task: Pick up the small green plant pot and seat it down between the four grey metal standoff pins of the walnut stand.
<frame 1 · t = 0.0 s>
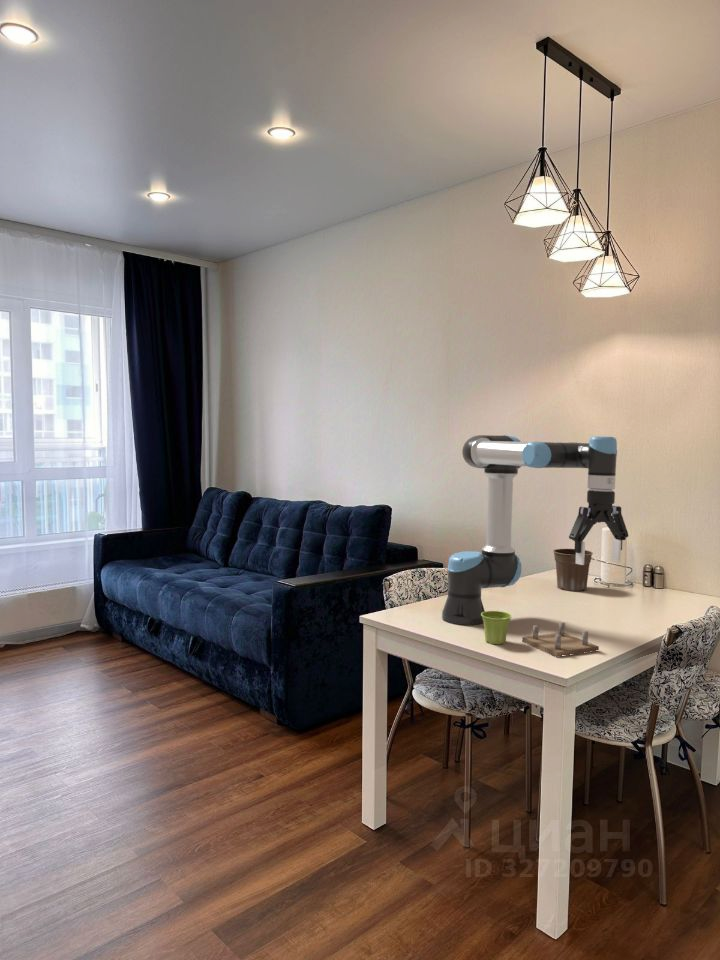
hand: (598, 563, 195), 28 cm above the table, tool pointing down, fingers open, 13 cm apart
stand: (559, 646, 207), on the table
plant pot: (571, 588, 290), on the table
plant pot 2: (495, 642, 211), on the table
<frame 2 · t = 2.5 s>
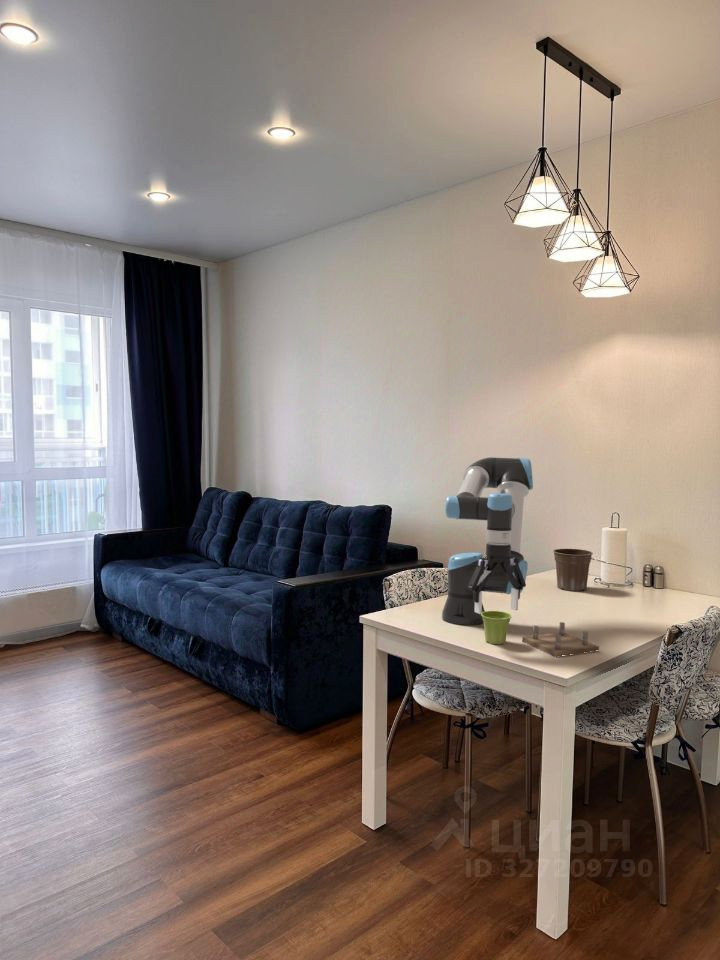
hand: (496, 611, 210), 10 cm above the table, tool pointing down, fingers open, 13 cm apart
nothing on the table moved.
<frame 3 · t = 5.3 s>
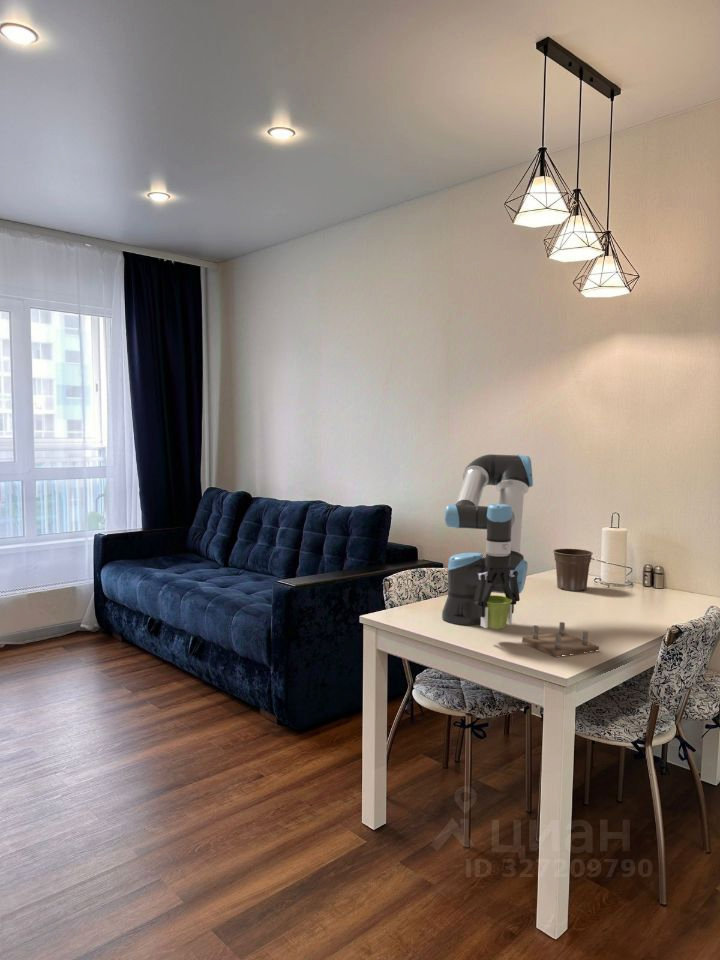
hand: (496, 625, 211), 5 cm above the table, tool pointing down, fingers closed on plant pot 2, 8 cm apart
plant pot 2: (495, 626, 211), point 5 cm above the table, touching gripper
everything else where it was.
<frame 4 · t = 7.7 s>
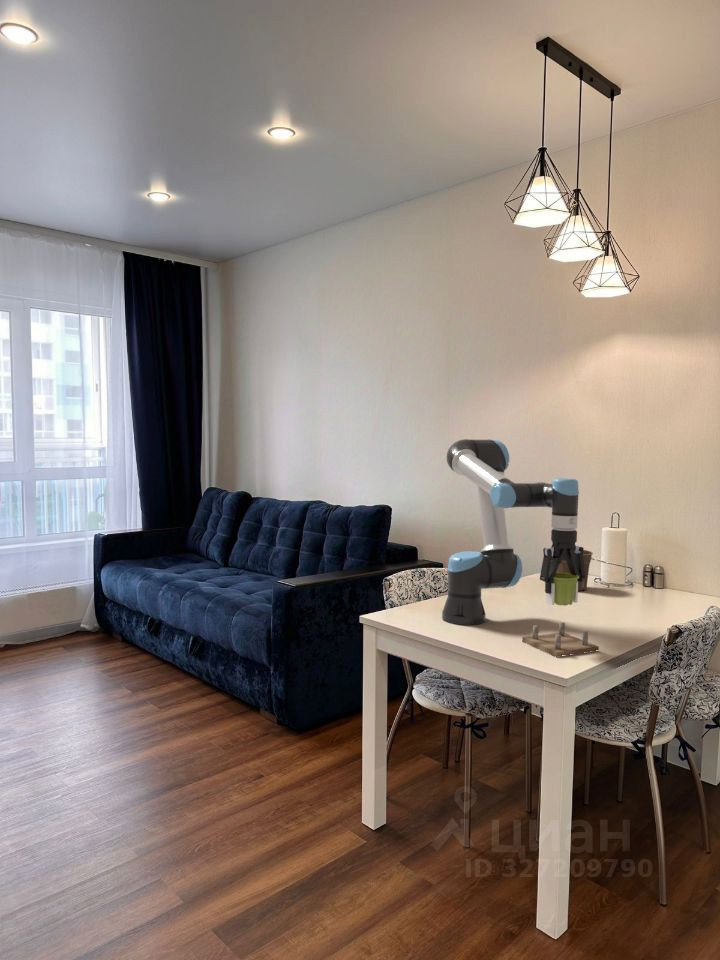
hand: (561, 602, 206), 14 cm above the table, tool pointing down, fingers closed on plant pot 2, 8 cm apart
plant pot 2: (561, 604, 206), point 13 cm above the table, touching gripper
everything else where it was.
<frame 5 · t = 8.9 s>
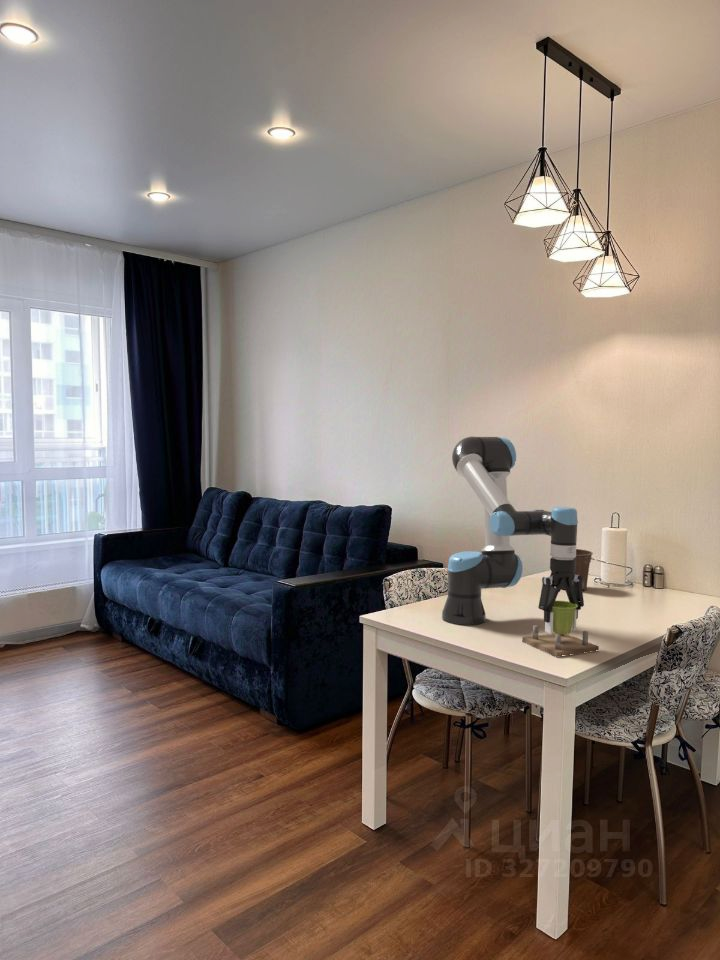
hand: (560, 631, 207), 5 cm above the table, tool pointing down, fingers closed on plant pot 2, 8 cm apart
plant pot 2: (560, 632, 207), point 4 cm above the table, touching gripper
everything else where it was.
when the fingers open (3 cm above the table, at t = 10.1 s): plant pot 2 stays where it is, resting on stand.
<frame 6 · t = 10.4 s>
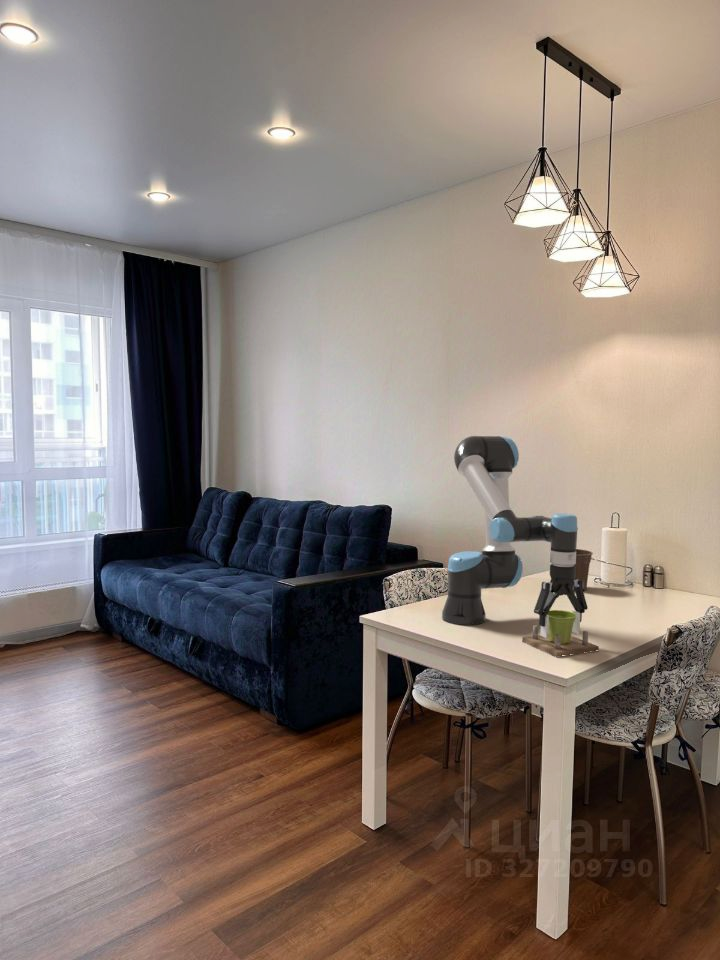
hand: (560, 634, 207), 4 cm above the table, tool pointing down, fingers open, 11 cm apart
plant pot 2: (559, 642, 207), point 1 cm above the table, touching stand
everything else where it was.
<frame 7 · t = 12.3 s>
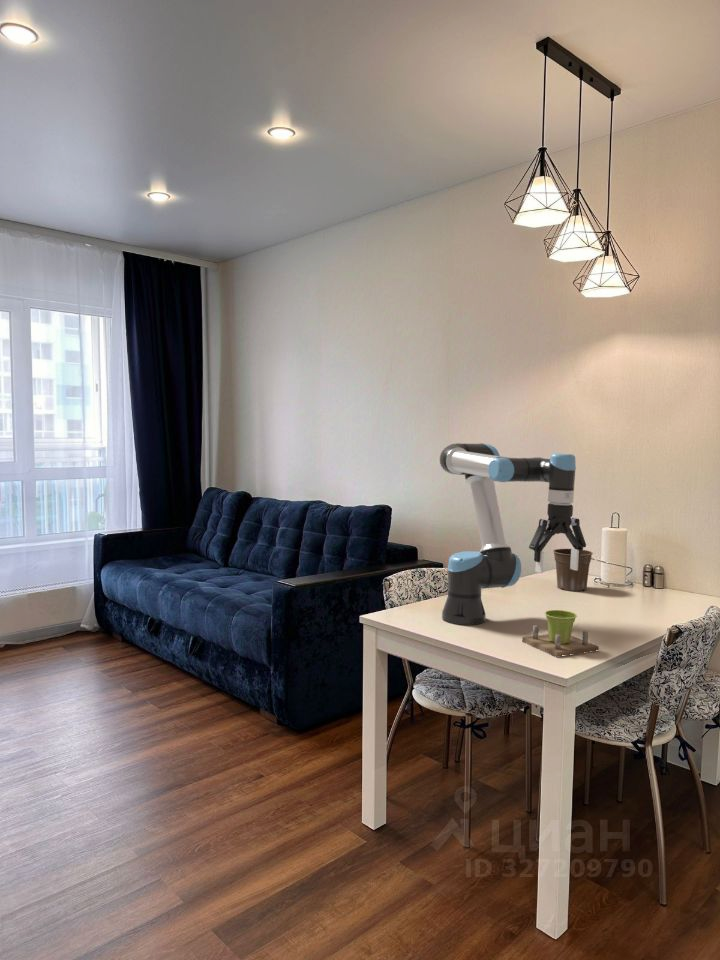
hand: (556, 571, 210), 23 cm above the table, tool pointing down, fingers open, 13 cm apart
nothing on the table moved.
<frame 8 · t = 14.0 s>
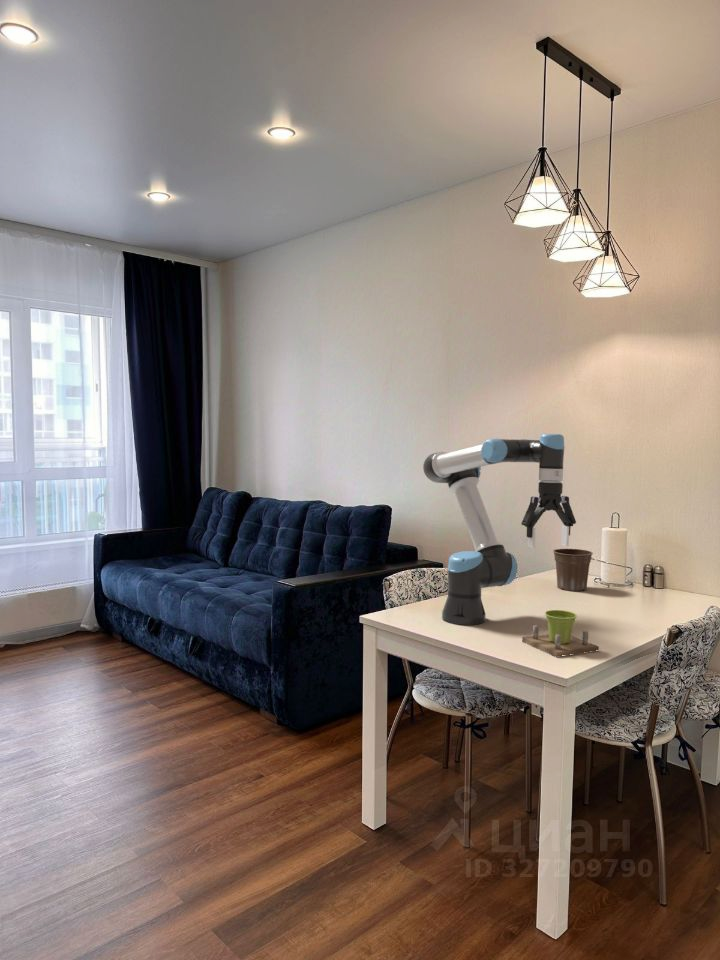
hand: (548, 546, 219), 29 cm above the table, tool pointing down, fingers open, 13 cm apart
nothing on the table moved.
at the end: plant pot 2 0.1 cm off-centre on the stand, point 1.3 cm above the stand's base; plant pot 2 tilted 0°; the gripper is holding nothing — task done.
